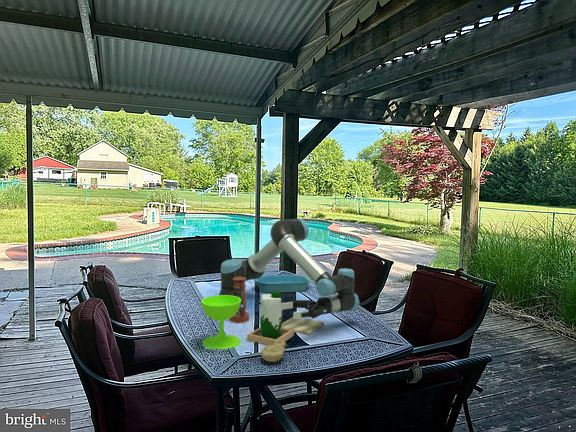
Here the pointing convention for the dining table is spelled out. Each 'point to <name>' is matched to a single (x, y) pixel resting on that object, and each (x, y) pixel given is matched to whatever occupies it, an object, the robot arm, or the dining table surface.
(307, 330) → the board
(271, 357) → the oil lamp
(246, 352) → the dining table surface
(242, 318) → the lantern
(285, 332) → the holder
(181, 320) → the dining table surface
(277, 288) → the casserole dish
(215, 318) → the wineglass
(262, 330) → the green white milk carton
